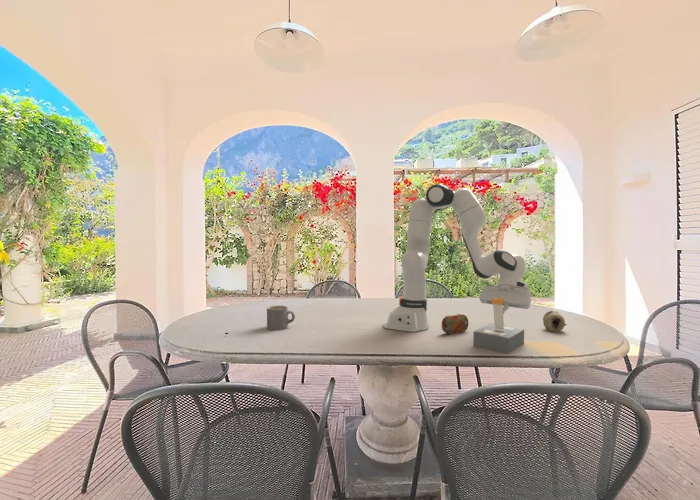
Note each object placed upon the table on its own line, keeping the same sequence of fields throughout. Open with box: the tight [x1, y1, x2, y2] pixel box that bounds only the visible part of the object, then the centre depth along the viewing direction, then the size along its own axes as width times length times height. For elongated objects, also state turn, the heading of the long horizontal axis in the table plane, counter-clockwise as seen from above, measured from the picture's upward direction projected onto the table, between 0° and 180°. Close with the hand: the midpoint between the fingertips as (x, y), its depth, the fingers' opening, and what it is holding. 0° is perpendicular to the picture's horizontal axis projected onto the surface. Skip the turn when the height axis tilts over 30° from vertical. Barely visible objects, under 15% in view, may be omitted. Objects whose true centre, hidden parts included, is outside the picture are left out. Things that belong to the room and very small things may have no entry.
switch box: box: [472, 323, 525, 354], centre depth 142 cm, size 18×14×6 cm
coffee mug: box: [266, 305, 296, 331], centre depth 167 cm, size 13×10×10 cm
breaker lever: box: [491, 297, 505, 330], centre depth 141 cm, size 2×4×13 cm, turn 45°
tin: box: [441, 313, 469, 335], centre depth 160 cm, size 15×3×8 cm, turn 118°
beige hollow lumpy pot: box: [542, 310, 567, 333], centre depth 164 cm, size 9×8×10 cm
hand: (499, 312), depth 142 cm, fingers closed, pressing on breaker lever
